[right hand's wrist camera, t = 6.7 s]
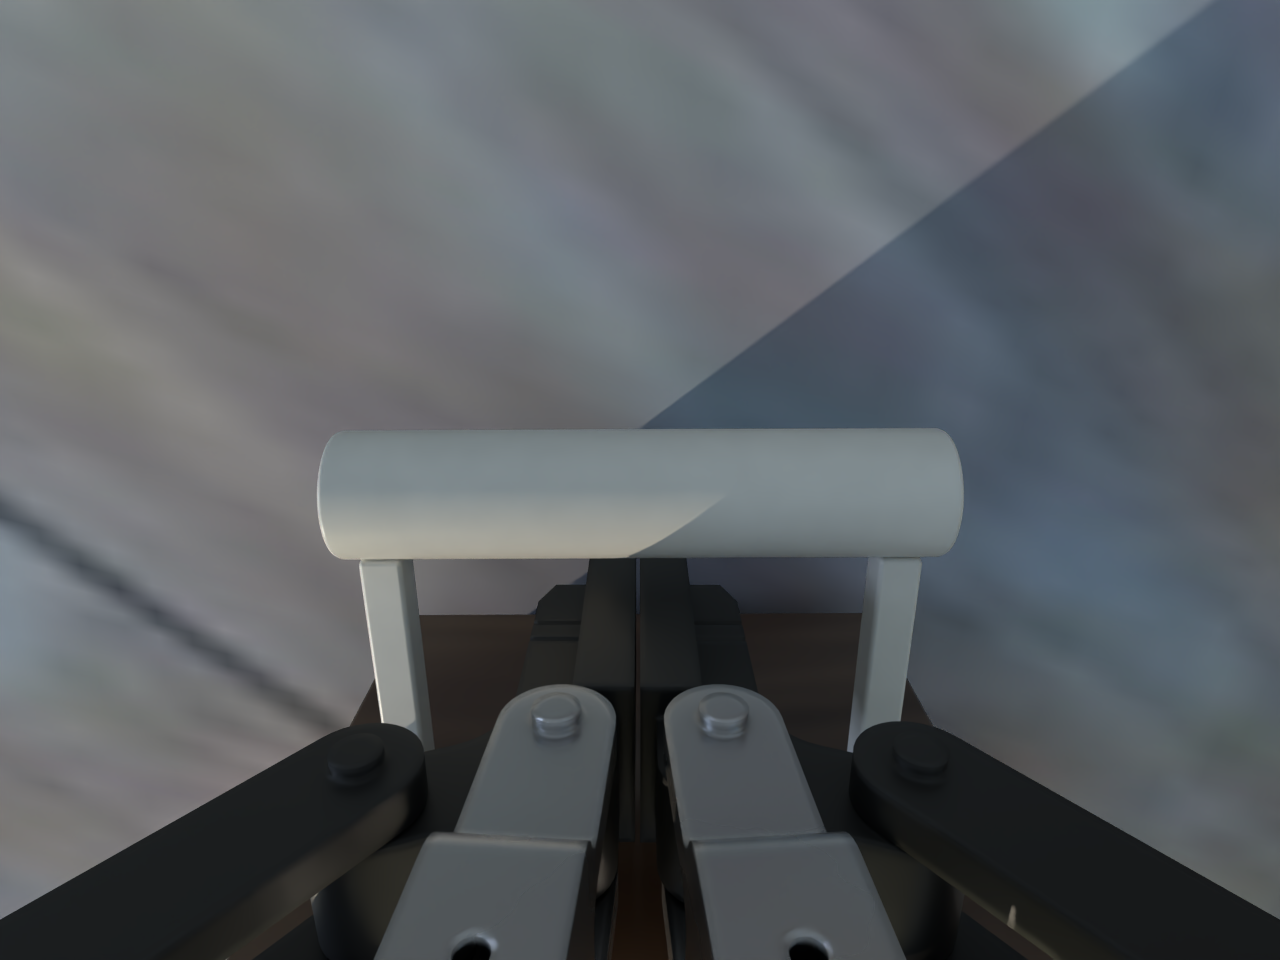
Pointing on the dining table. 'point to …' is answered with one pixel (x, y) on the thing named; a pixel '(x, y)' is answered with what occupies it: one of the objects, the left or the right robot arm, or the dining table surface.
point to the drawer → (641, 528)
